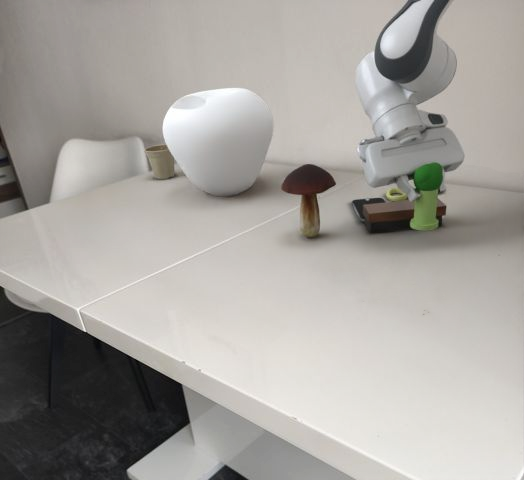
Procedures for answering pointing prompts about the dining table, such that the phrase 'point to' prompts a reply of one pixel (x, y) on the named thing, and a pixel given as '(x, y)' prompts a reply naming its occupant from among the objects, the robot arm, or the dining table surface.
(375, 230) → the brush
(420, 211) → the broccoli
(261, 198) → the dining table surface
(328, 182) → the decorative mushroom
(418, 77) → the robot arm
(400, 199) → the key
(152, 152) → the flower pot
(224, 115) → the vase
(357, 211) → the smartphone
